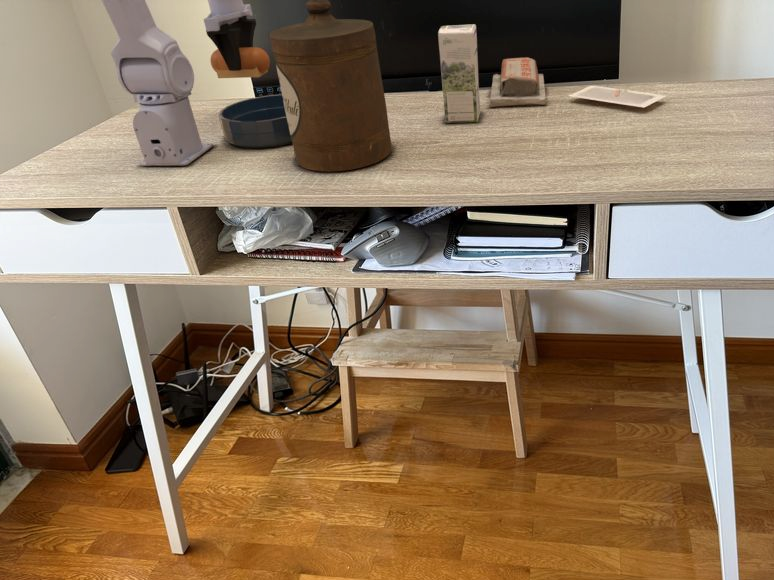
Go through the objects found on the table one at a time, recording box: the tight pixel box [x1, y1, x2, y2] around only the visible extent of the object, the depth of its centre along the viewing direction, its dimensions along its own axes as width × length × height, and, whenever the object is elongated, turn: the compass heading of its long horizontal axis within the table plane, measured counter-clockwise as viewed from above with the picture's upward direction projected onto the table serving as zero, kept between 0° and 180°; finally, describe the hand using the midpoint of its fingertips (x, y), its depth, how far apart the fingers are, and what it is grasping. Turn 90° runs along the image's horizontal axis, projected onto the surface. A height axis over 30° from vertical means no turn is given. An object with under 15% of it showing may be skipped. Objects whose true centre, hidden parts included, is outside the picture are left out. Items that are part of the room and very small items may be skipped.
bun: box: [210, 46, 271, 79], centre depth 123 cm, size 11×5×5 cm, turn 81°
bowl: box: [217, 93, 293, 149], centre depth 115 cm, size 16×16×4 cm
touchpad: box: [568, 84, 667, 109], centre depth 118 cm, size 8×15×2 cm, turn 49°
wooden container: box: [269, 0, 393, 173], centre depth 98 cm, size 15×15×22 cm
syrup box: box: [437, 23, 481, 124], centre depth 112 cm, size 6×6×14 cm
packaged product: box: [489, 56, 547, 108], centre depth 126 cm, size 18×5×10 cm
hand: (241, 66), depth 123 cm, fingers closed on bun, 4 cm apart
